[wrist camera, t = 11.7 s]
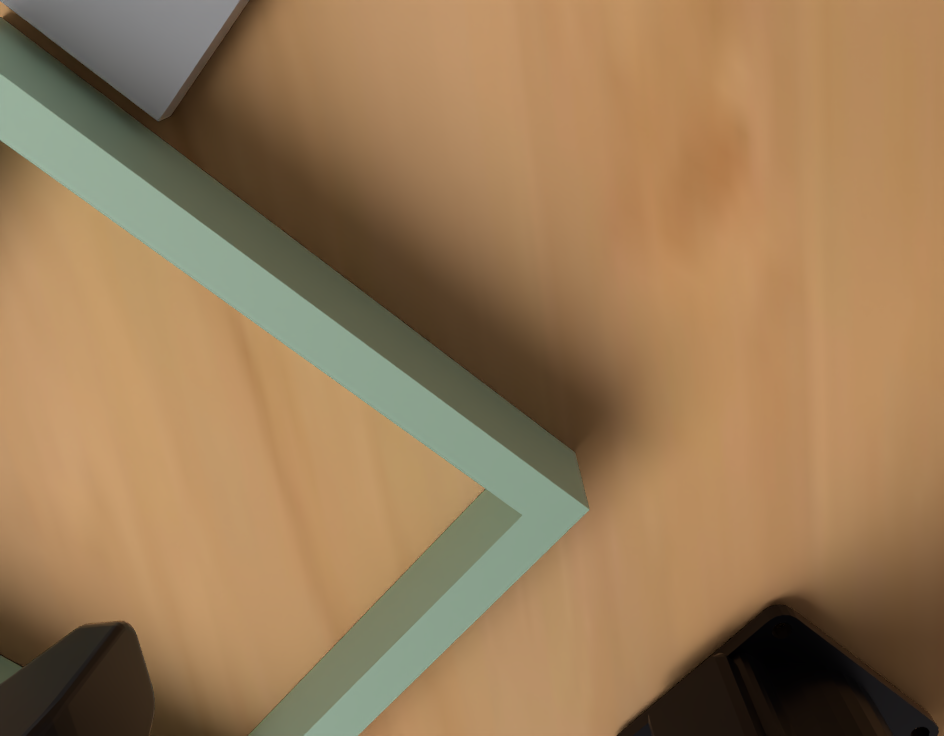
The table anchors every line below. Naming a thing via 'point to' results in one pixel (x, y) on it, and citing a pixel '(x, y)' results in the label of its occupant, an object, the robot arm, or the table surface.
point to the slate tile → (137, 41)
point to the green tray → (333, 352)
